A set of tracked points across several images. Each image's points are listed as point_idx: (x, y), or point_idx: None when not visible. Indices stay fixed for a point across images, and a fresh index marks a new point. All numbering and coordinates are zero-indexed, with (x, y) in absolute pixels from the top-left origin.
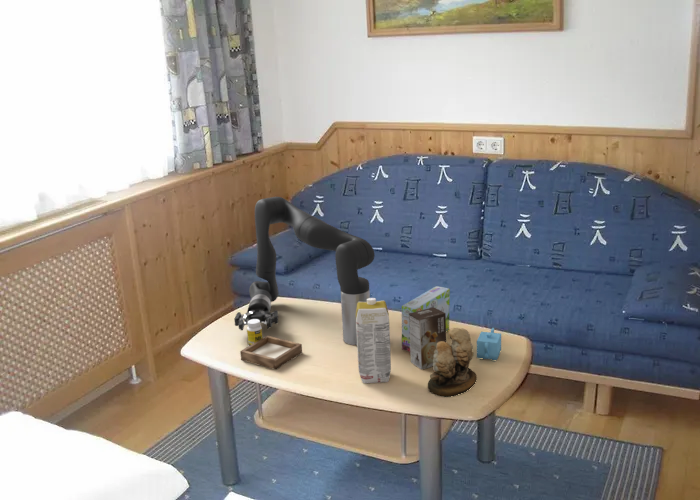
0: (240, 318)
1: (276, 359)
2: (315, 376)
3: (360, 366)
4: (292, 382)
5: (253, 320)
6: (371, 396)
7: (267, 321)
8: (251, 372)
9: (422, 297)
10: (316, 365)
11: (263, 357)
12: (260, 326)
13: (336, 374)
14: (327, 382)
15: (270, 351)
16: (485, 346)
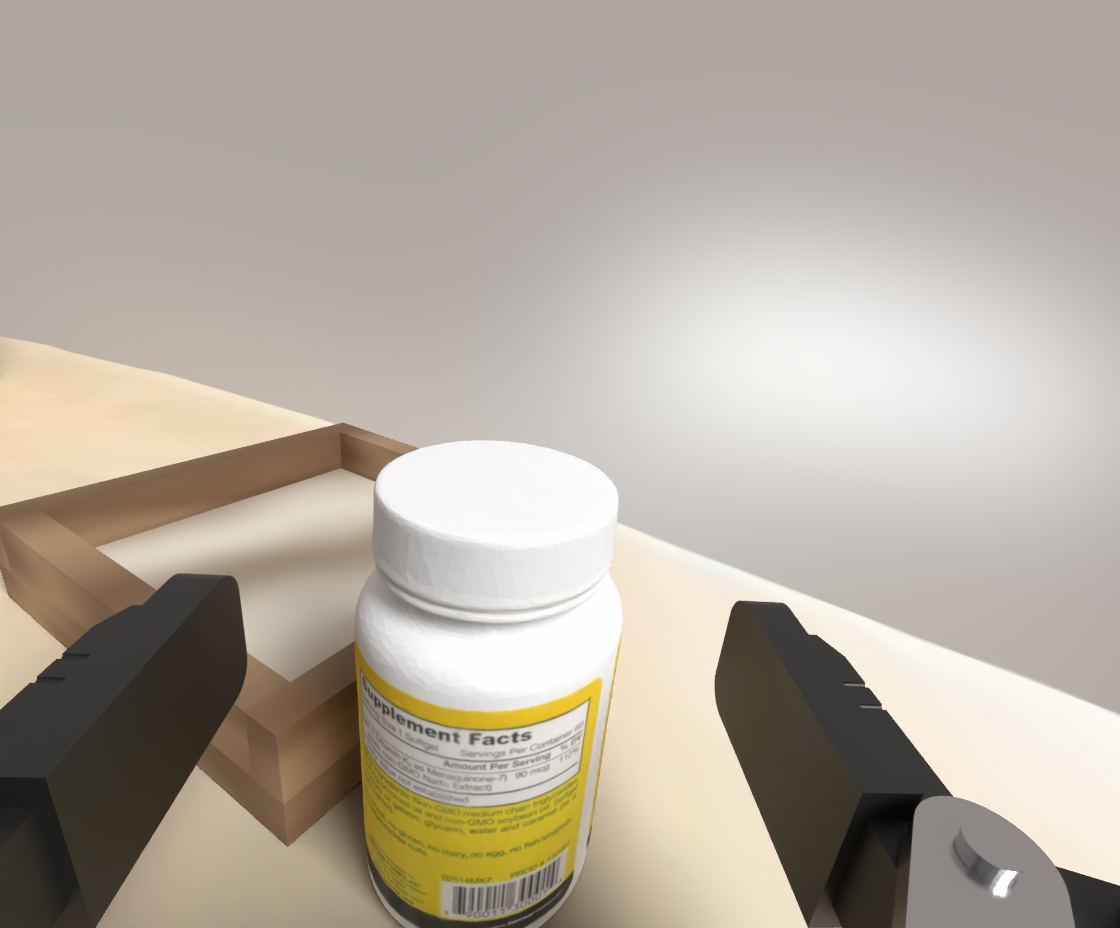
0: (1068, 914)
1: (333, 426)
2: (161, 428)
3: None
4: (298, 421)
5: (508, 498)
6: (50, 359)
7: (166, 619)
8: None
9: None
10: (68, 475)
11: (413, 447)
12: (377, 573)
13: (39, 423)
14: (140, 404)
15: (331, 568)
16: None
